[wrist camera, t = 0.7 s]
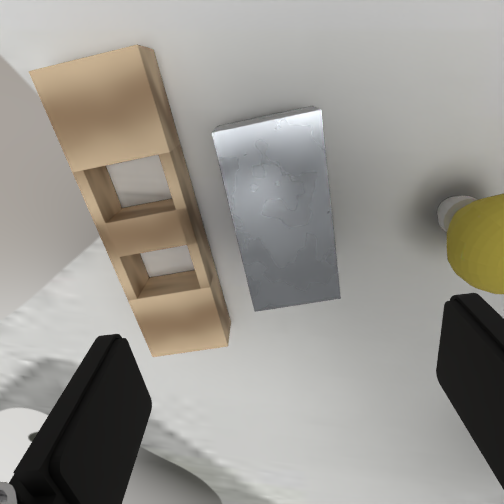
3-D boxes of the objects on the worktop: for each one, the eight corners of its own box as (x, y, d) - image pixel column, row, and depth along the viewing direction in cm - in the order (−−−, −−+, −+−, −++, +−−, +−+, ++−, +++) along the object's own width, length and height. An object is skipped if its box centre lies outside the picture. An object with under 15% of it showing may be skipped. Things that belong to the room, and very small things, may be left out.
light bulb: (472, 251, 30) (561, 322, 21) (398, 239, 30) (459, 307, 21) (509, 177, 27) (632, 223, 18) (428, 163, 27) (513, 203, 18)
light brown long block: (230, 322, 34) (228, 346, 31) (162, 332, 35) (152, 357, 32) (153, 49, 24) (137, 44, 21) (58, 72, 24) (28, 71, 21)
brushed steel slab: (325, 257, 31) (340, 298, 25) (255, 269, 31) (254, 311, 26) (306, 103, 25) (321, 109, 19) (222, 121, 26) (211, 133, 20)
